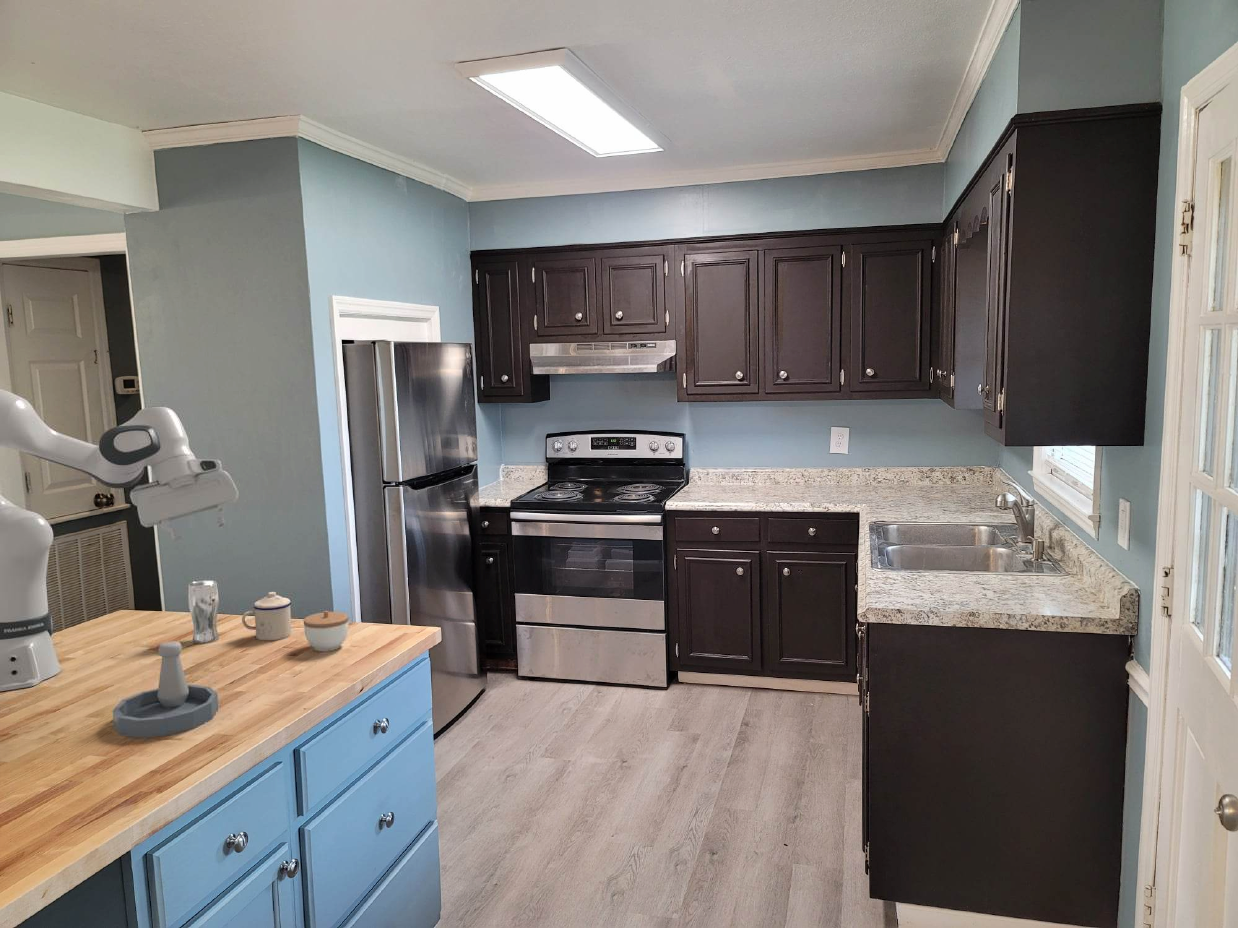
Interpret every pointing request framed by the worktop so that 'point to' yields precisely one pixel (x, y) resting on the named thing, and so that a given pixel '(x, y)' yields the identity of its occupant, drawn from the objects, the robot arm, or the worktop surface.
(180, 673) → the salt shaker
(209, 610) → the beer glass
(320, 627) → the lidded jar
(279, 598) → the teacup with lid
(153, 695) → the bowl
